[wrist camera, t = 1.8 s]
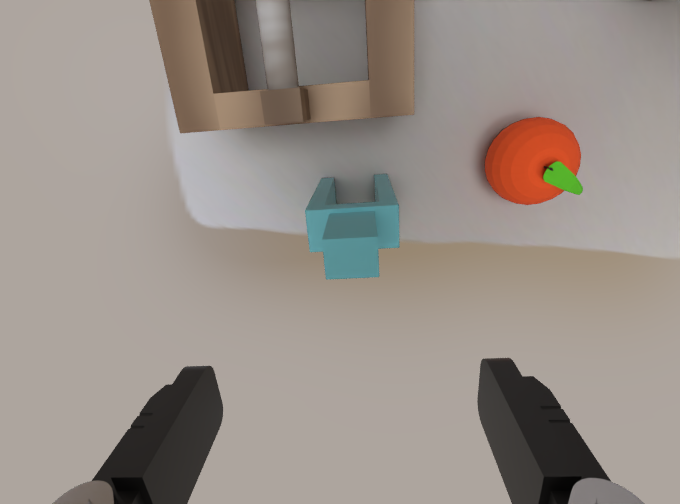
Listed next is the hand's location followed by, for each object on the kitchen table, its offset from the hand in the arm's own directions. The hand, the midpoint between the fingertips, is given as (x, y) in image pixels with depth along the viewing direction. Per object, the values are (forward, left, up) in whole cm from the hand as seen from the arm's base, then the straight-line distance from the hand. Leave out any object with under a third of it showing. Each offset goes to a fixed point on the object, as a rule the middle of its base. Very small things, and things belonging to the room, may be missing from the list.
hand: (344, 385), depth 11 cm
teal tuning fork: (0, 0, -26) cm, 26 cm away
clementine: (-15, -2, -26) cm, 30 cm away
